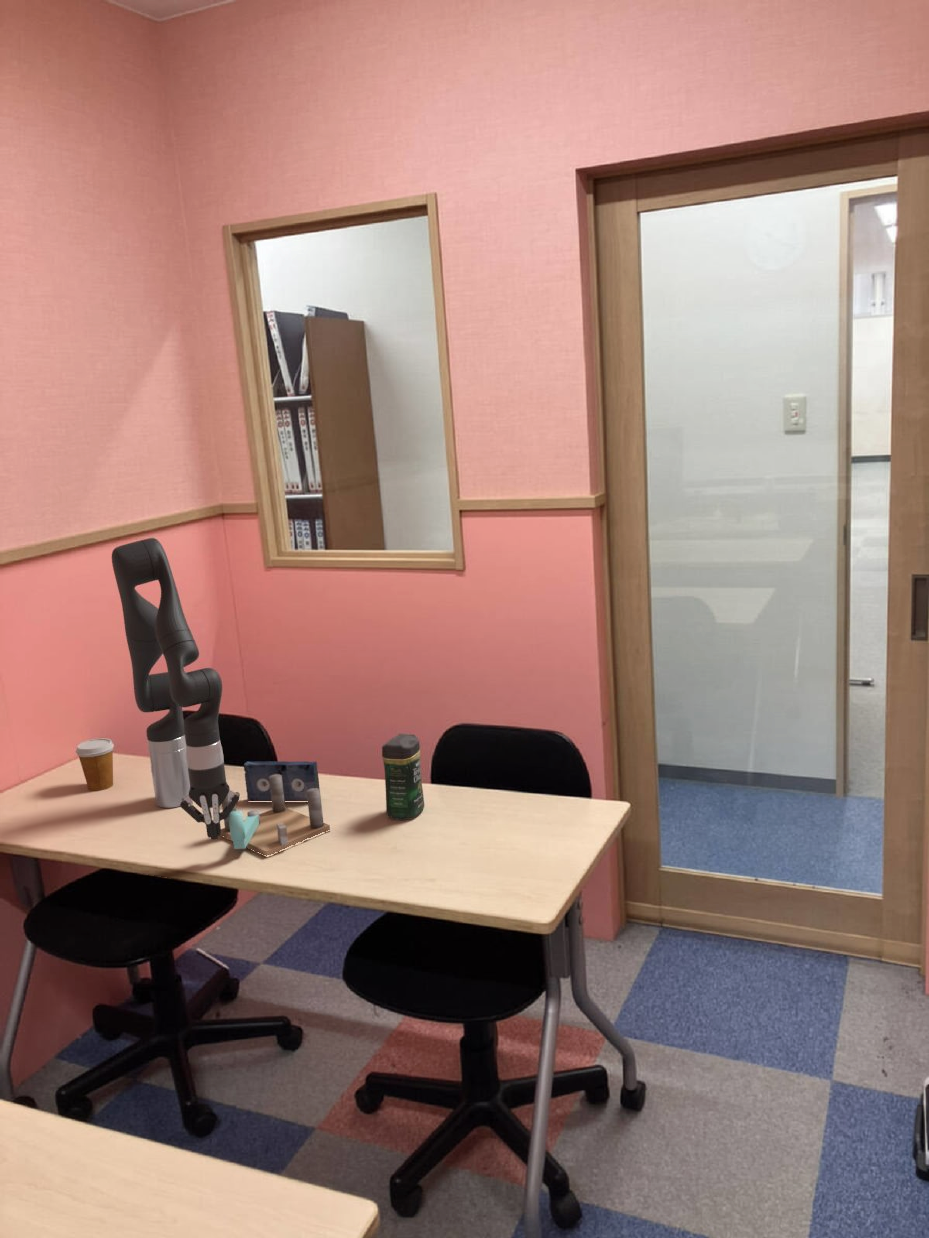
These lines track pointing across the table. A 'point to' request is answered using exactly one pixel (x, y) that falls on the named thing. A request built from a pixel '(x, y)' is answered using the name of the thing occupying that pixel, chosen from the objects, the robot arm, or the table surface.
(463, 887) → the table surface
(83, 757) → the disposable coffee cup
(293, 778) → the vhs cassette tape
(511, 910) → the table surface
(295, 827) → the stool seat
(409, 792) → the coffee jar
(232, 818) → the hinged leg
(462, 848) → the table surface
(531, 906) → the table surface
